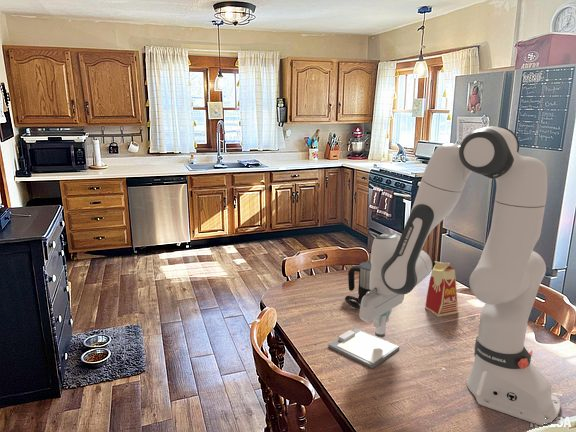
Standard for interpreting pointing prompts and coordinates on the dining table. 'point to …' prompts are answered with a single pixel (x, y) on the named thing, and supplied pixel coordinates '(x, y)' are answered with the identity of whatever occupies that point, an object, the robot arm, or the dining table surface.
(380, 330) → the glue stick
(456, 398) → the dining table surface
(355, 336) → the clipboard
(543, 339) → the dining table surface
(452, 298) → the milk carton
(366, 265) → the milk frother
